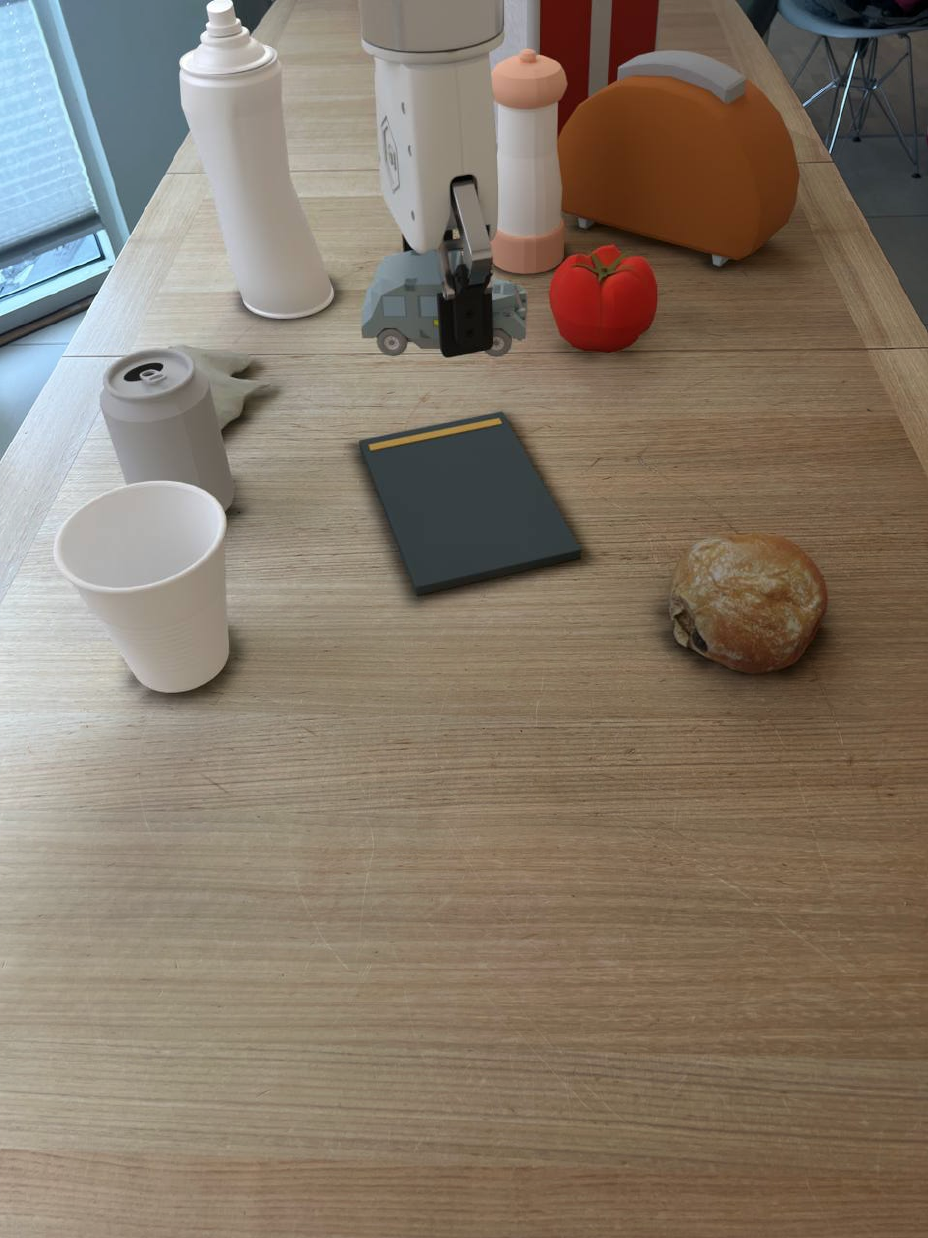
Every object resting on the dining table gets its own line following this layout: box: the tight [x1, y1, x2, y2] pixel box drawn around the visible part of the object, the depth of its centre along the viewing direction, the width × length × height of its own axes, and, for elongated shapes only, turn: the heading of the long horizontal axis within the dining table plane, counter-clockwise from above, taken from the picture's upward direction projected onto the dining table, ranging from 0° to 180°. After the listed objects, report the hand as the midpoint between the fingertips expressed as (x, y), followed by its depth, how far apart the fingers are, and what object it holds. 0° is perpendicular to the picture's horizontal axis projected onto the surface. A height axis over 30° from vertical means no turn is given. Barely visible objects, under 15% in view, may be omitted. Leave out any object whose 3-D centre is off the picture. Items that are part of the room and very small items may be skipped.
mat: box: [358, 411, 582, 596], centre depth 80 cm, size 12×18×1 cm, turn 16°
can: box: [99, 347, 236, 513], centre depth 77 cm, size 8×8×12 cm
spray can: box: [178, 0, 335, 320], centre depth 95 cm, size 12×11×25 cm
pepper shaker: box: [490, 49, 567, 275], centre depth 100 cm, size 7×7×19 cm
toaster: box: [557, 49, 801, 267], centre depth 104 cm, size 23×9×17 cm, turn 53°
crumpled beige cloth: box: [167, 344, 271, 431], centre depth 89 cm, size 12×3×15 cm
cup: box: [52, 481, 230, 694], centre depth 66 cm, size 10×10×11 cm
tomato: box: [548, 244, 659, 354], centre depth 93 cm, size 9×9×8 cm
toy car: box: [360, 250, 528, 358], centre depth 67 cm, size 6×10×5 cm, turn 86°
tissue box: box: [489, 0, 663, 152], centre depth 117 cm, size 16×18×27 cm
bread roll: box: [668, 532, 829, 675], centre depth 68 cm, size 10×10×8 cm
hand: (448, 316), depth 67 cm, fingers closed on toy car, 7 cm apart
